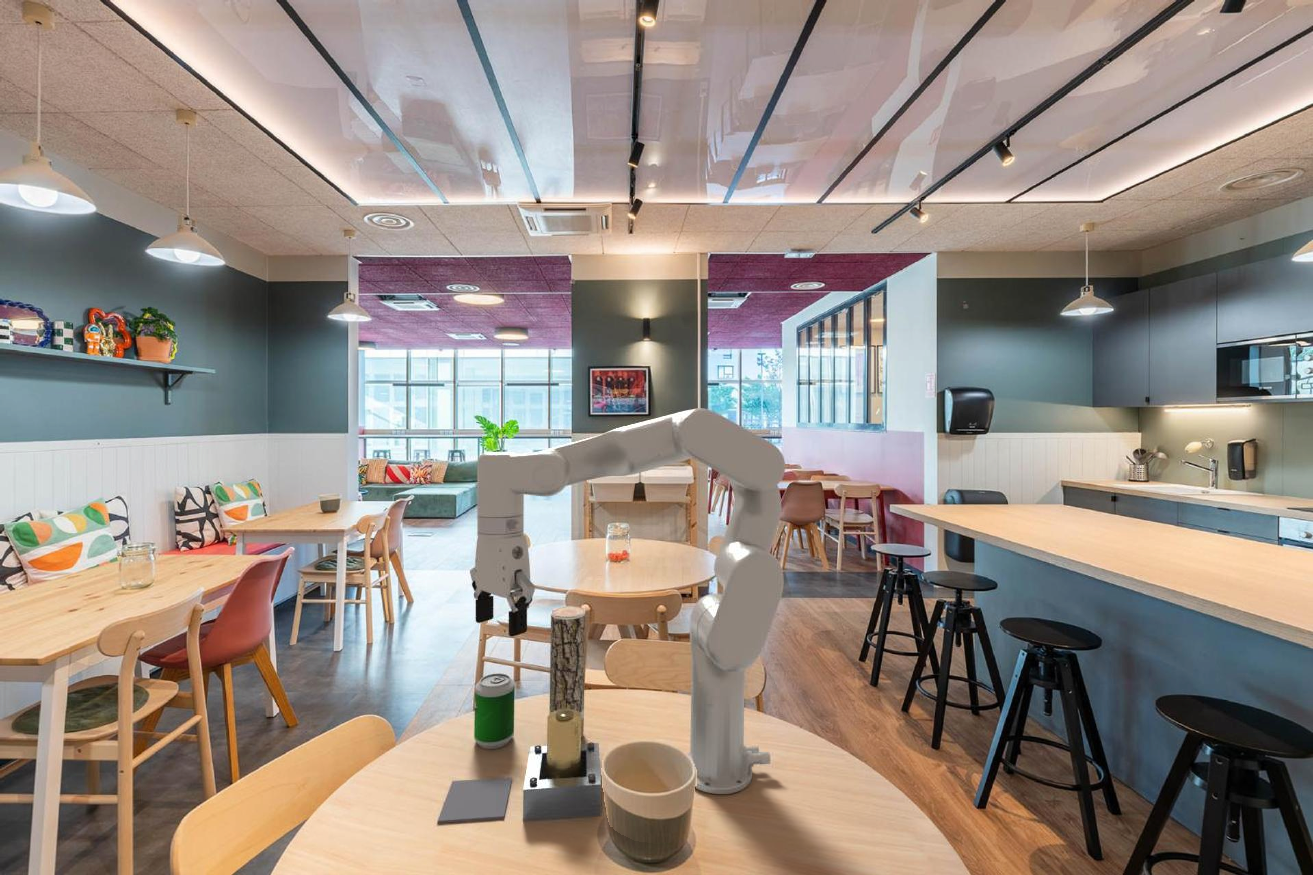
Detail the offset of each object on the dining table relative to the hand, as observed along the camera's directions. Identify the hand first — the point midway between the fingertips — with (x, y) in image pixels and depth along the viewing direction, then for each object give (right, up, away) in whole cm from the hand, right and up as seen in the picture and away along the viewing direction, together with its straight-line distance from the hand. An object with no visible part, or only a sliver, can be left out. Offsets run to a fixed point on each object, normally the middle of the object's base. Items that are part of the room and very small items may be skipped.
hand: (500, 627), depth 94 cm
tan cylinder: (+11, -28, 0) cm, 30 cm away
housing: (+11, -28, 0) cm, 30 cm away
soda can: (-6, -28, +16) cm, 32 cm away
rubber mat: (-3, -28, -2) cm, 28 cm away
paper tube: (+8, -28, +18) cm, 34 cm away
